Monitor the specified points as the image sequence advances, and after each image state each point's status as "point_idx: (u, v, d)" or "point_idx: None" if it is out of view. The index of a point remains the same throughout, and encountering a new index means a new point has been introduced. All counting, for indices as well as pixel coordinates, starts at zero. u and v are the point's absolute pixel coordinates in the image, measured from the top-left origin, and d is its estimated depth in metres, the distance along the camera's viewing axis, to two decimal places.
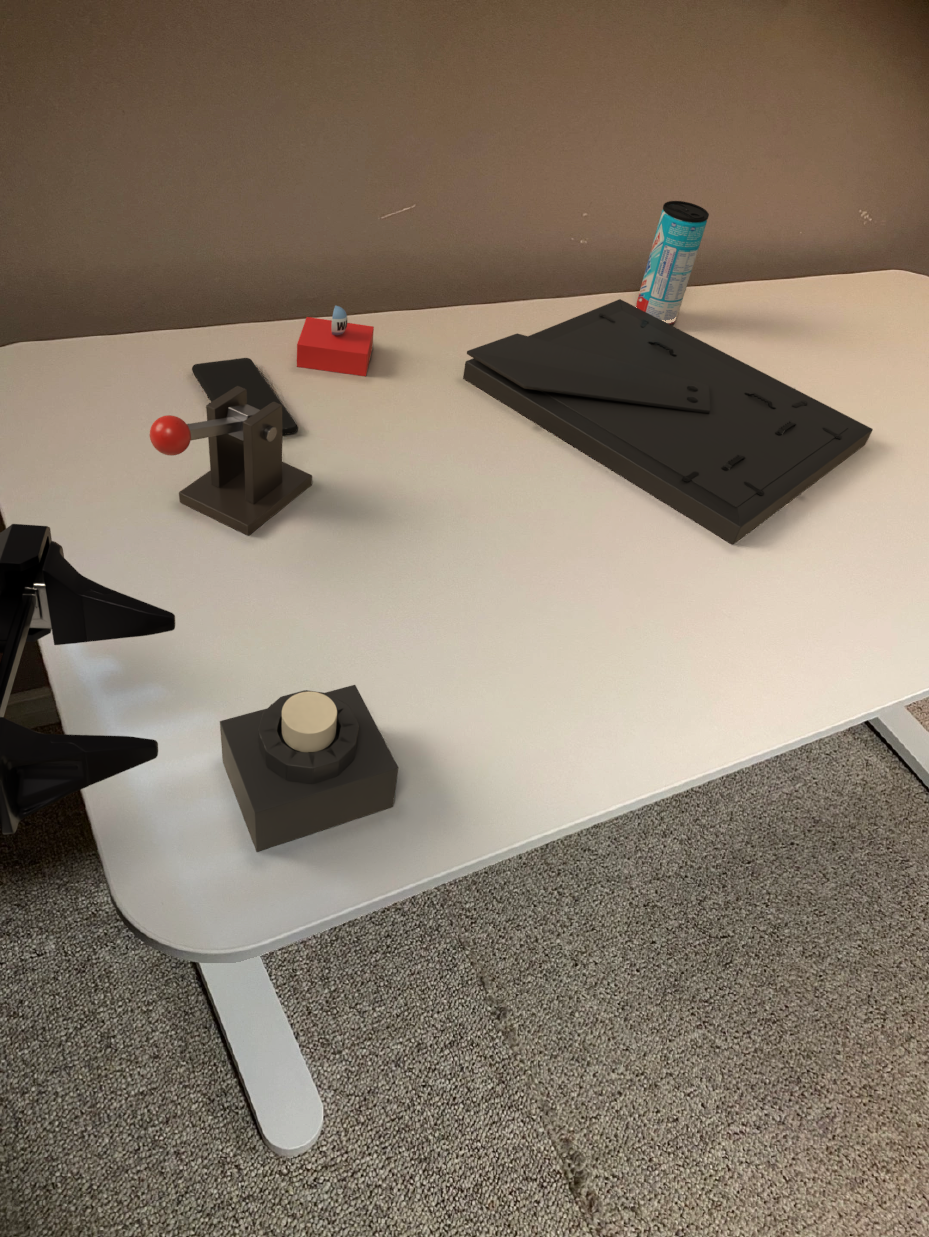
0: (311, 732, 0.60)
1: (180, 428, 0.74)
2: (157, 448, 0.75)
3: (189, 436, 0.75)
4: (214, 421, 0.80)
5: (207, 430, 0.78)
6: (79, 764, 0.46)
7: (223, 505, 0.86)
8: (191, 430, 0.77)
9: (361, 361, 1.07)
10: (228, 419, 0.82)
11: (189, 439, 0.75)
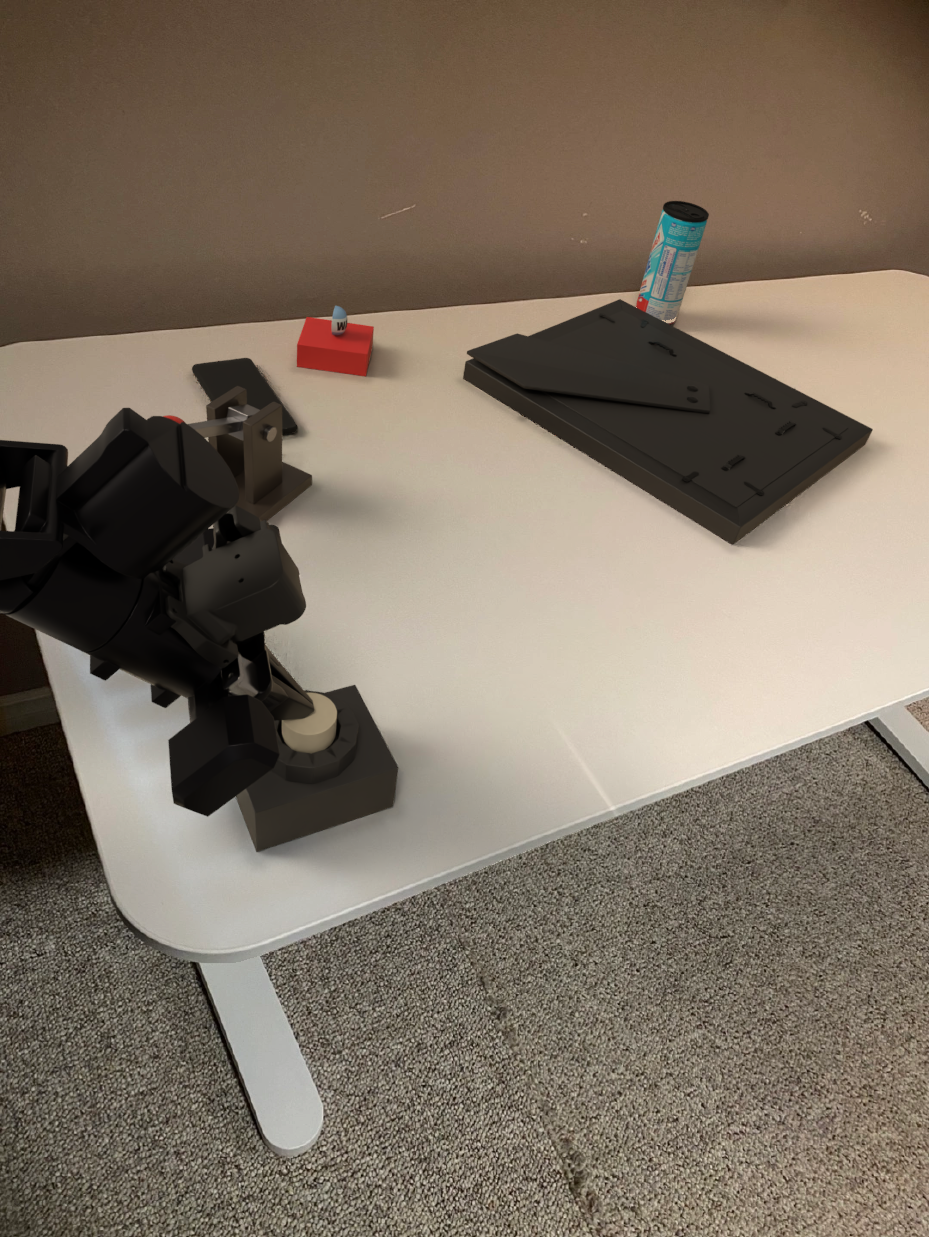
0: (311, 733, 0.60)
1: None
2: None
3: None
4: (214, 421, 0.80)
5: (207, 430, 0.78)
6: (274, 704, 0.58)
7: None
8: None
9: (361, 361, 1.07)
10: (228, 419, 0.82)
11: None
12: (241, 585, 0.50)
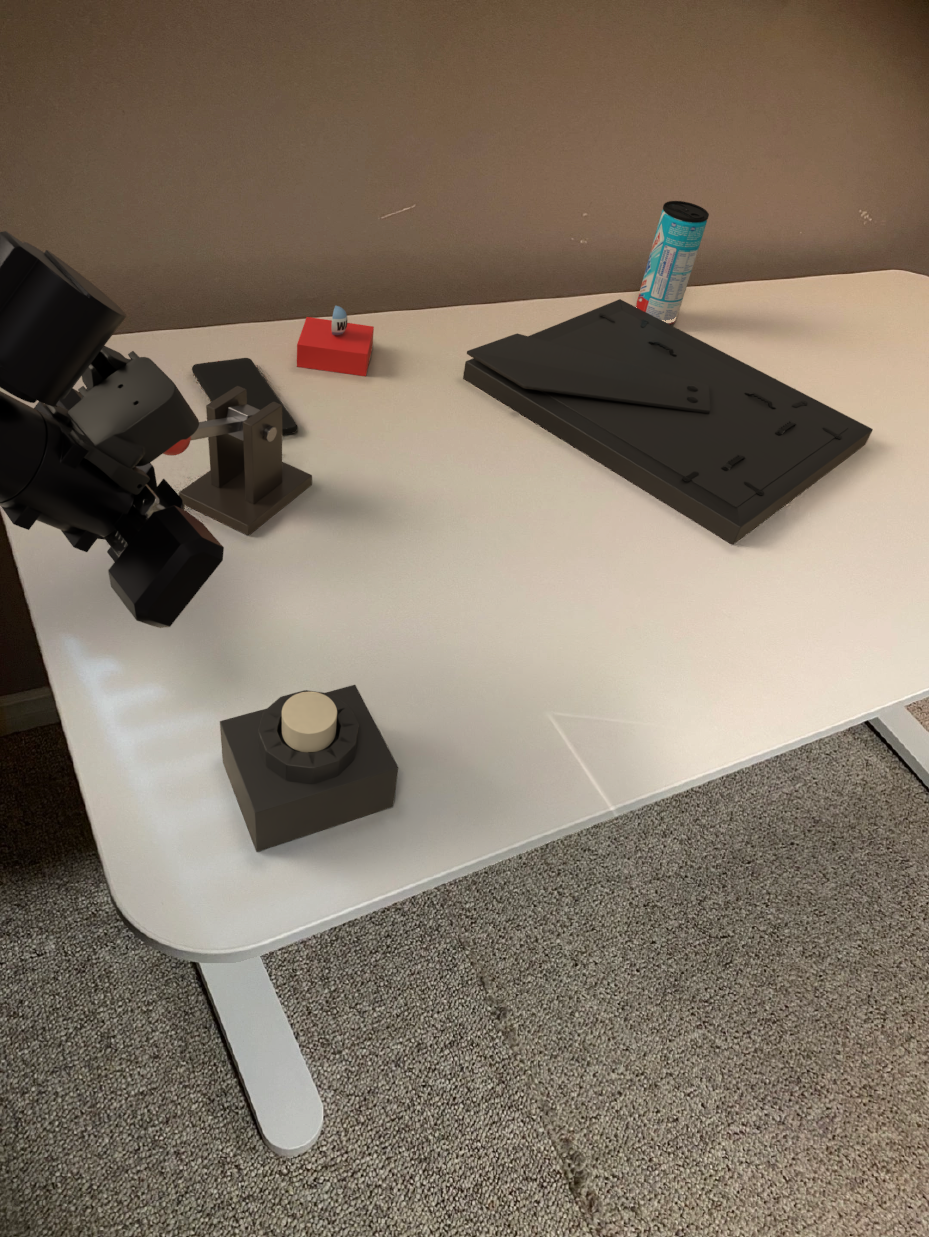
0: (311, 732, 0.60)
1: None
2: None
3: None
4: (214, 421, 0.80)
5: (207, 430, 0.78)
6: None
7: (223, 505, 0.86)
8: None
9: (361, 361, 1.07)
10: (228, 419, 0.82)
11: (189, 439, 0.75)
12: (138, 406, 0.53)
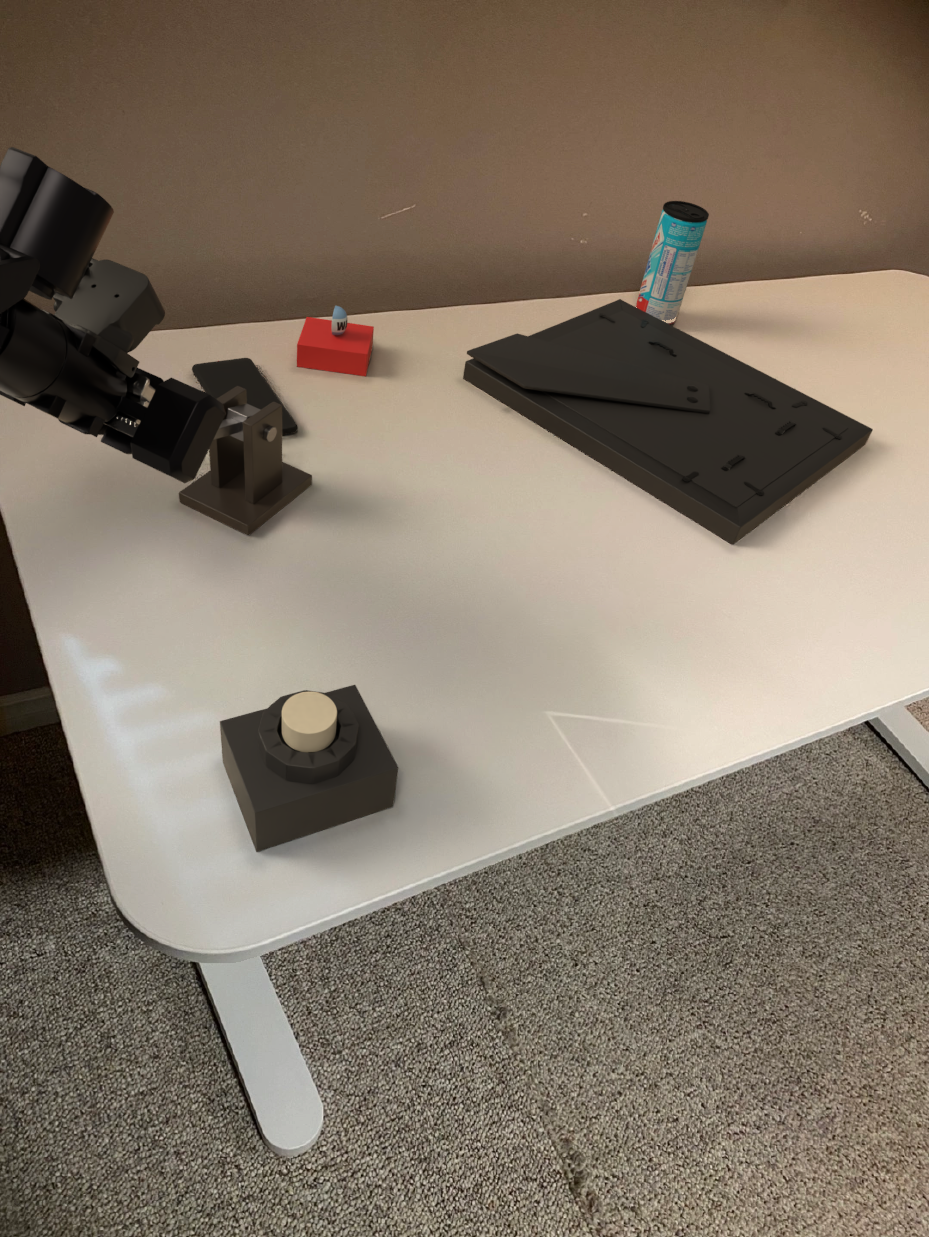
0: (311, 732, 0.60)
1: None
2: None
3: None
4: None
5: None
6: None
7: (223, 505, 0.86)
8: None
9: (361, 361, 1.07)
10: (227, 421, 0.82)
11: None
12: (121, 298, 0.62)
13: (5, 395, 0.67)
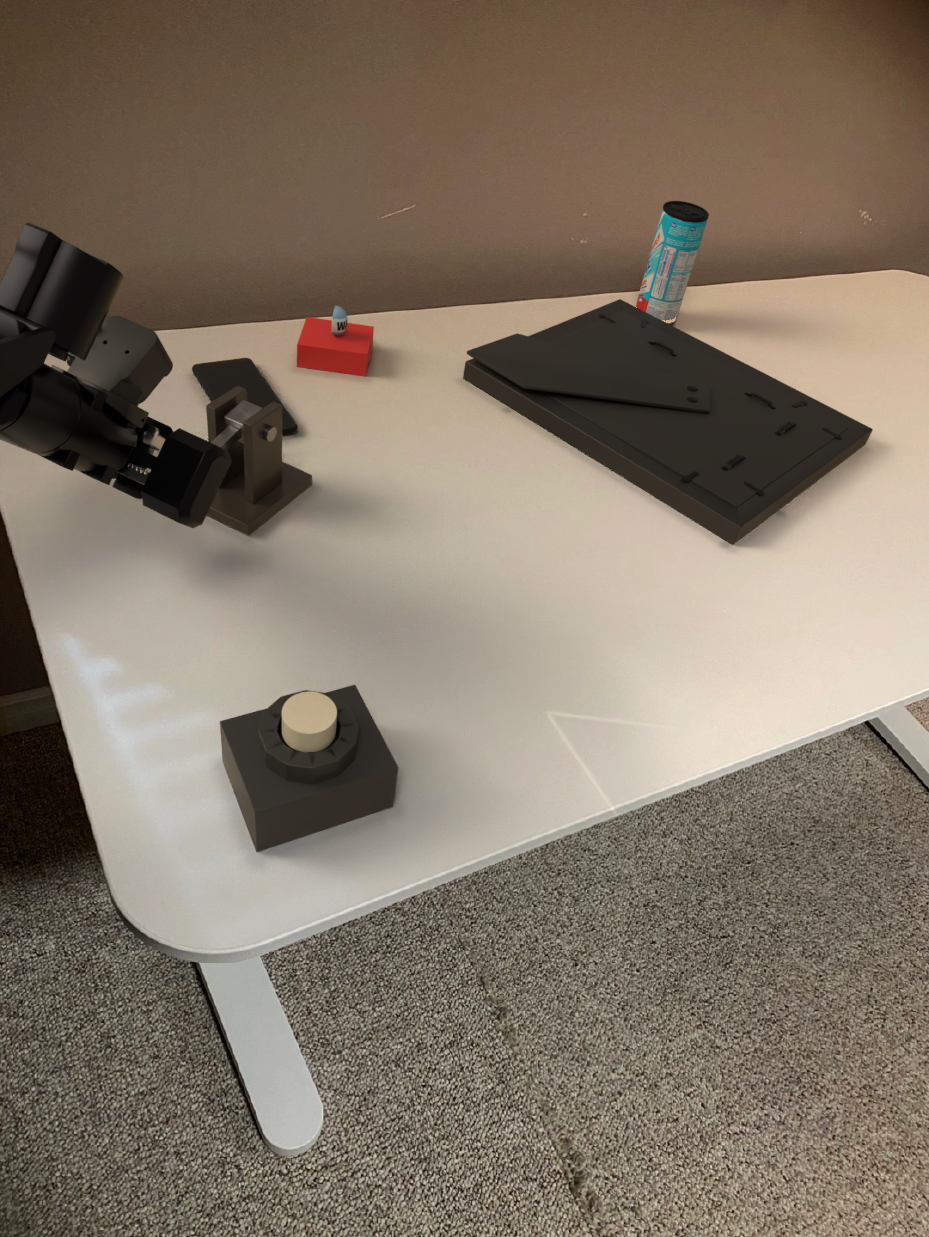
0: (311, 732, 0.60)
1: None
2: None
3: None
4: None
5: None
6: None
7: (223, 505, 0.86)
8: None
9: (361, 361, 1.07)
10: (226, 433, 0.82)
11: None
12: (131, 354, 0.65)
13: None
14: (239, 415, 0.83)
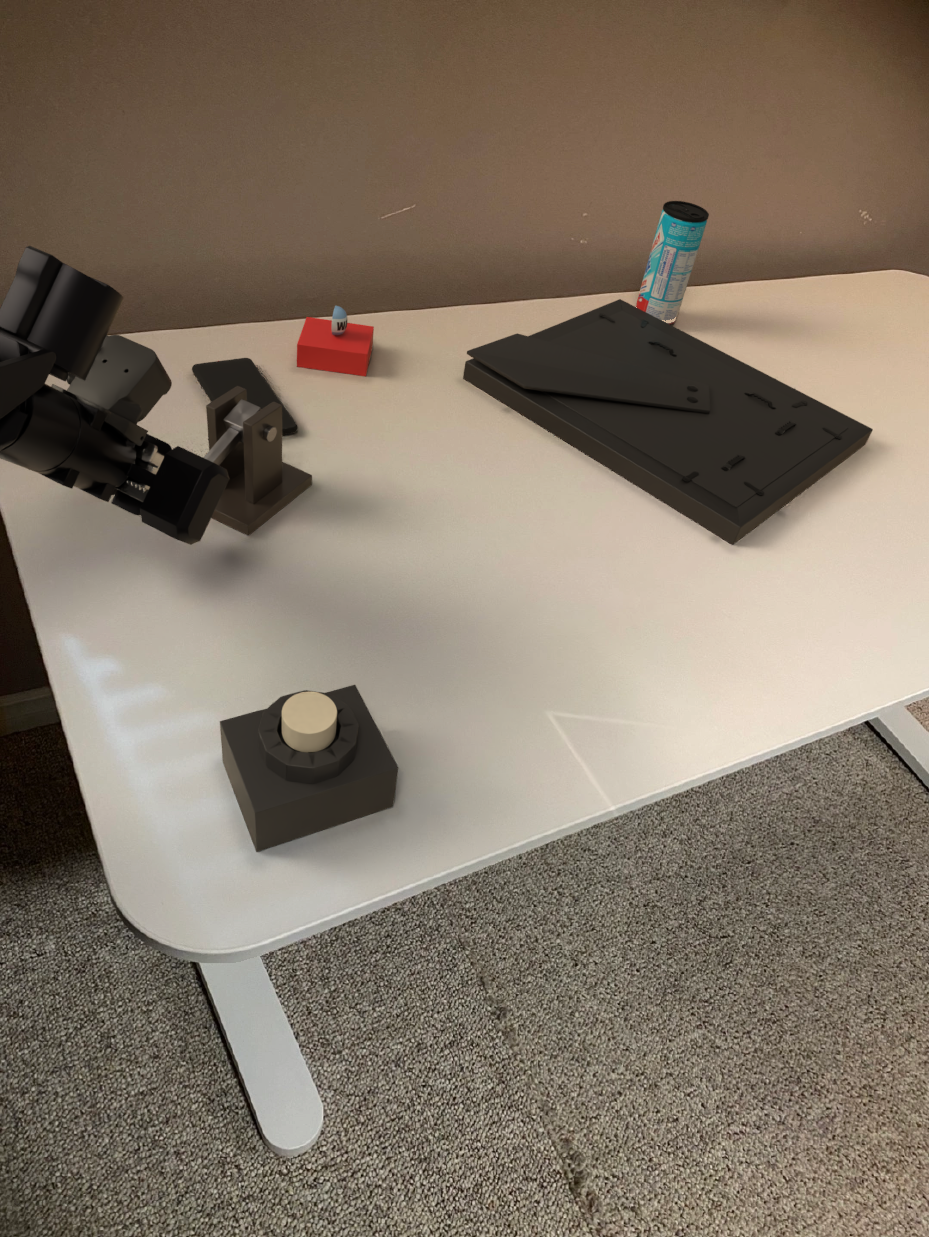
0: (311, 732, 0.60)
1: None
2: None
3: None
4: (213, 450, 0.82)
5: None
6: None
7: (223, 505, 0.86)
8: None
9: (361, 361, 1.07)
10: (226, 437, 0.83)
11: None
12: (130, 373, 0.66)
13: None
14: (238, 417, 0.83)
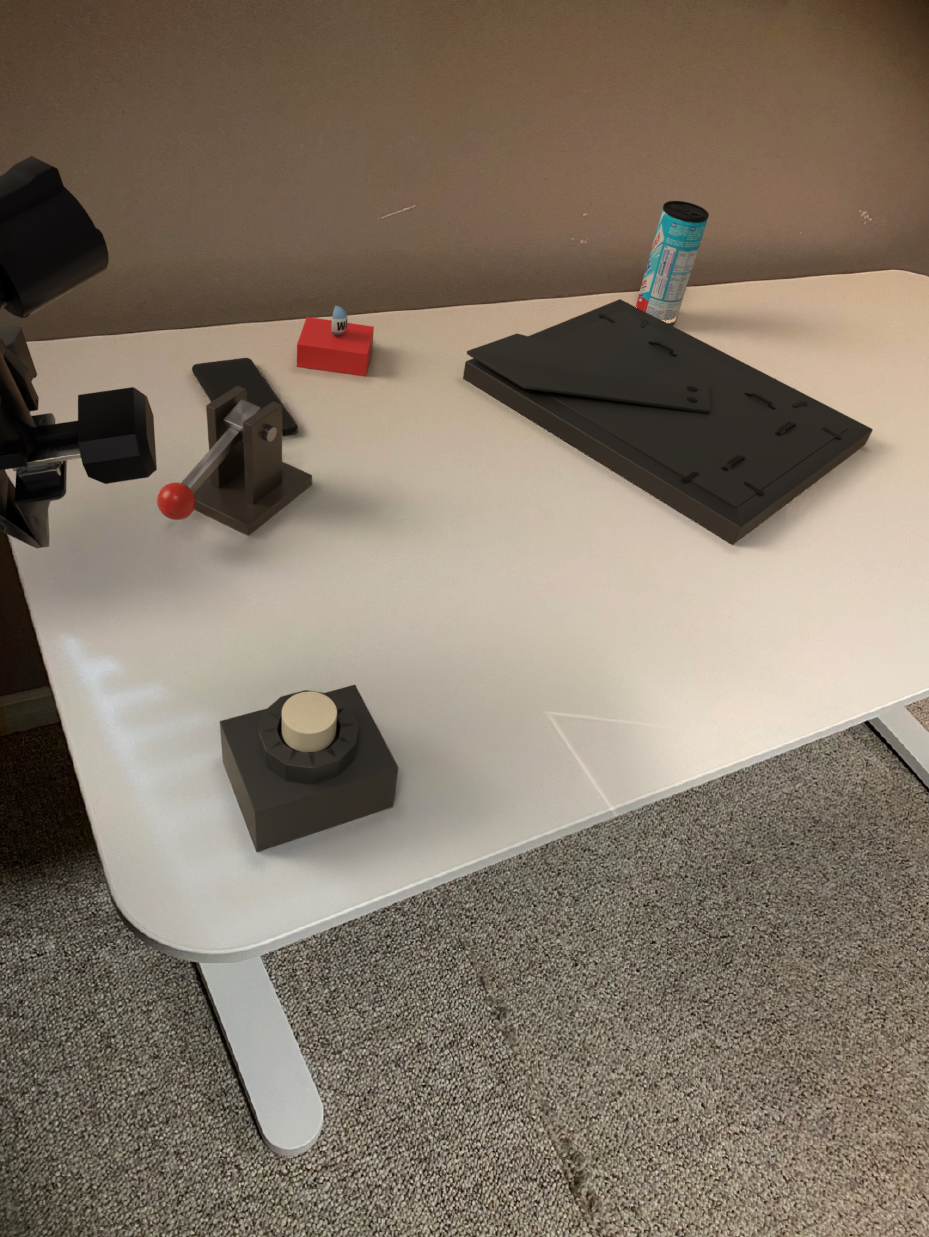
0: (311, 732, 0.60)
1: (180, 502, 0.78)
2: None
3: (192, 500, 0.79)
4: (213, 450, 0.82)
5: (208, 470, 0.81)
6: None
7: (223, 505, 0.86)
8: (193, 485, 0.80)
9: (361, 361, 1.07)
10: (226, 437, 0.83)
11: (193, 502, 0.80)
12: (0, 337, 0.58)
13: None
14: (238, 417, 0.83)
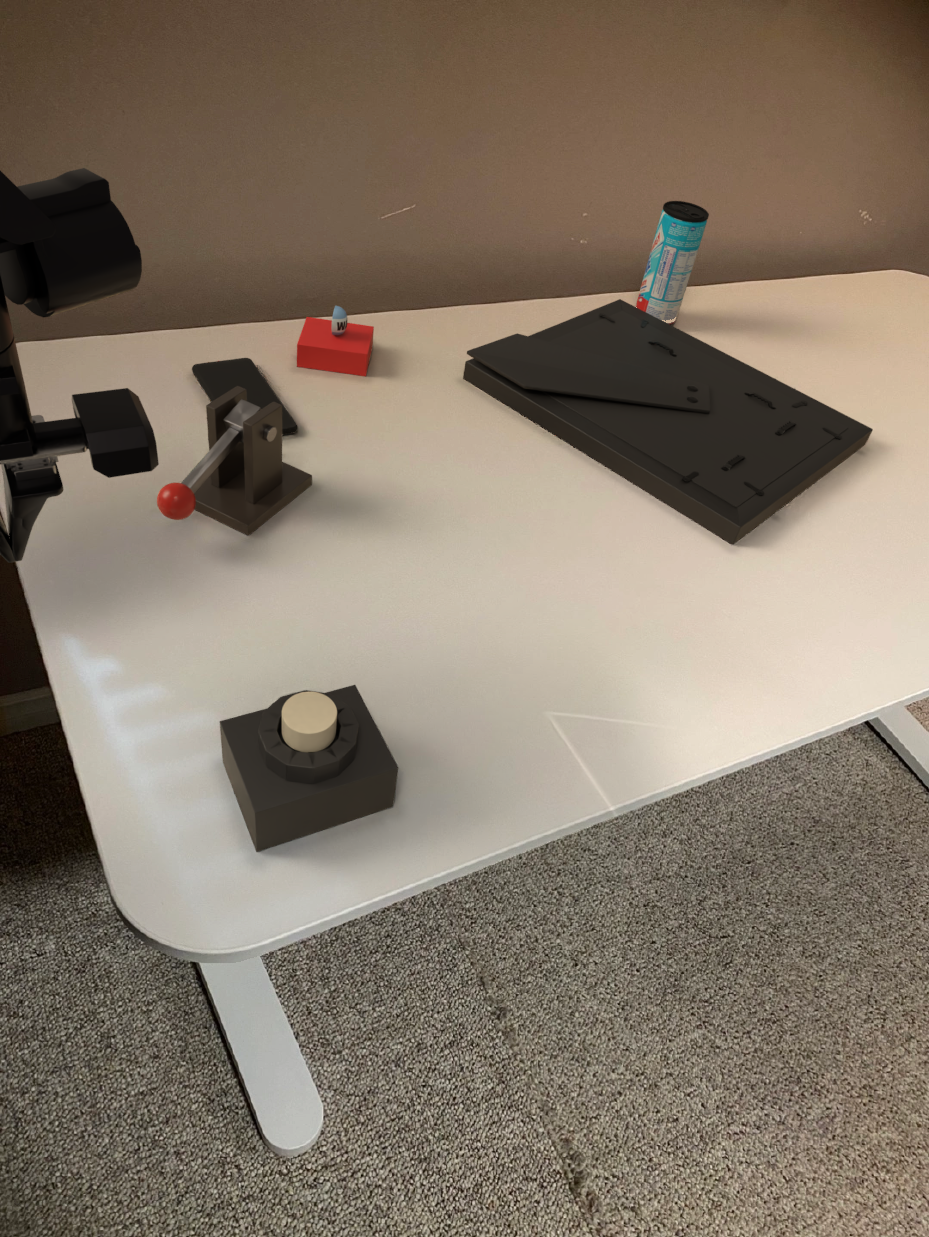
0: (311, 732, 0.60)
1: (180, 502, 0.78)
2: None
3: (192, 500, 0.79)
4: (213, 450, 0.82)
5: (208, 470, 0.81)
6: None
7: (223, 505, 0.86)
8: (193, 485, 0.80)
9: (361, 361, 1.07)
10: (226, 437, 0.83)
11: (193, 502, 0.80)
12: None
13: None
14: (238, 417, 0.83)
